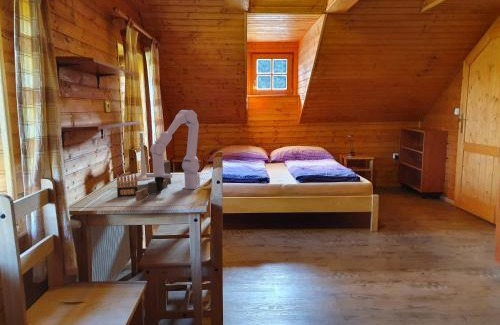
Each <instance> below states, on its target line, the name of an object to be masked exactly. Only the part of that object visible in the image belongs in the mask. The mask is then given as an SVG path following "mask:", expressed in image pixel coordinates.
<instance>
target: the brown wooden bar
mask: <svg viewBox="0 0 500 325" xmlns="http://www.w3.org/2000/svg"><path fill="white" fill-rule="evenodd" d="M162 186H163V190H164V189H167V188H168V184H167V180H163V183H162ZM147 197H149V193H148V188H144V189H141V190H139V191H136V196H135V201H139V202H140V201H141V200H143V199H146V198H147Z"/></svg>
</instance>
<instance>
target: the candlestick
mask: <svg viewBox="0 0 500 325" xmlns="http://www.w3.org/2000/svg"><path fill="white" fill-rule="evenodd" d="M145 144H146V143H145V142H144V134H143V132H140V133H139V147H140V174H138V175H136V177H137V182H138V181H149V180H150V179H151V180H154V179H155V177H148V178H146V174H148V172H147V164H146V156H145V148H144V147H145ZM153 178H154V179H153Z"/></svg>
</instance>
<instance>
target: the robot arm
mask: <svg viewBox="0 0 500 325" xmlns="http://www.w3.org/2000/svg"><path fill="white" fill-rule="evenodd" d="M183 124H185V125H186V126H187V127H188V133H187V142H186V143H187V144H186V145H187V146H186V155H185V156H184V157H183V161H182V162H181V163H182V164H181V167H182V170H183V172H184V186H183V187H182V188H181V189H186V190H196V189H198V188H200V187H201V186H202V184H201V179H200V178H201V176H200V173H199V172H198V171H199V169H200V163H199V158H198V156H197V149H198V140H199V128H200V127H199V126H200V125H199V121H198V114H197V112H195V111H194V110H193V109H189V110H188V109H181V110H179V111H178V113H177V114H176V115H175V117H174V119H173V121H172V123H171V124H170V125H169V127H168V129H167V130H166V131H163V132H161V133H160V134H159V137H158V139H156V140H155V141H154V143H152V145H151V146H150V148H149V152H150V153H151V157H152V169H153V170H152V171H153V172H152V173H151V172H150V173H148V172H147V174H146V178H148V177H154V181H155V182H156V183H157V188H158V191H161V192H163V190H164V189H163V186H162V183H163V180H164V178H171V179H172V178H173V174H172V173H170V174H166V173H164V160H165V159H164V153H165V152H166V147H167V146H168V144H169V143H170V142H171V140H172V139H173V135H174V133H175V132H176V131H177V129H178V128H179V127H180V126H181V125H183ZM160 176H162V177H160Z"/></svg>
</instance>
